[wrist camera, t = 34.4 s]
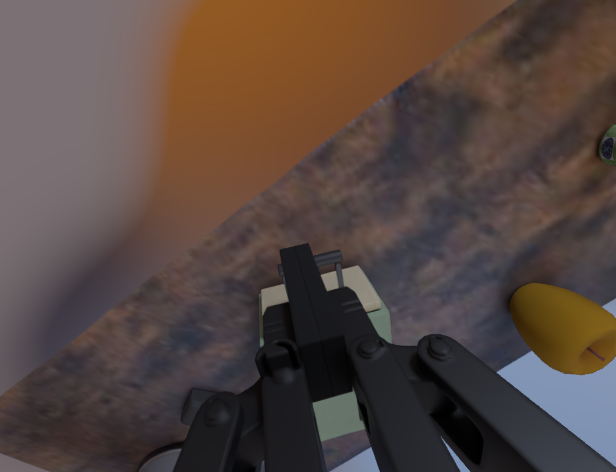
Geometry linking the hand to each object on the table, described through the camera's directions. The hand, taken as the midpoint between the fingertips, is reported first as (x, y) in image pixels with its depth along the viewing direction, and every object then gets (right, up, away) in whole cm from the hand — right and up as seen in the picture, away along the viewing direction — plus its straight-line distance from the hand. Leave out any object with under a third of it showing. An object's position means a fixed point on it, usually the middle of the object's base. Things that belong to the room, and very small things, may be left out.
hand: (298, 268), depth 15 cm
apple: (+36, -9, +34) cm, 50 cm away
